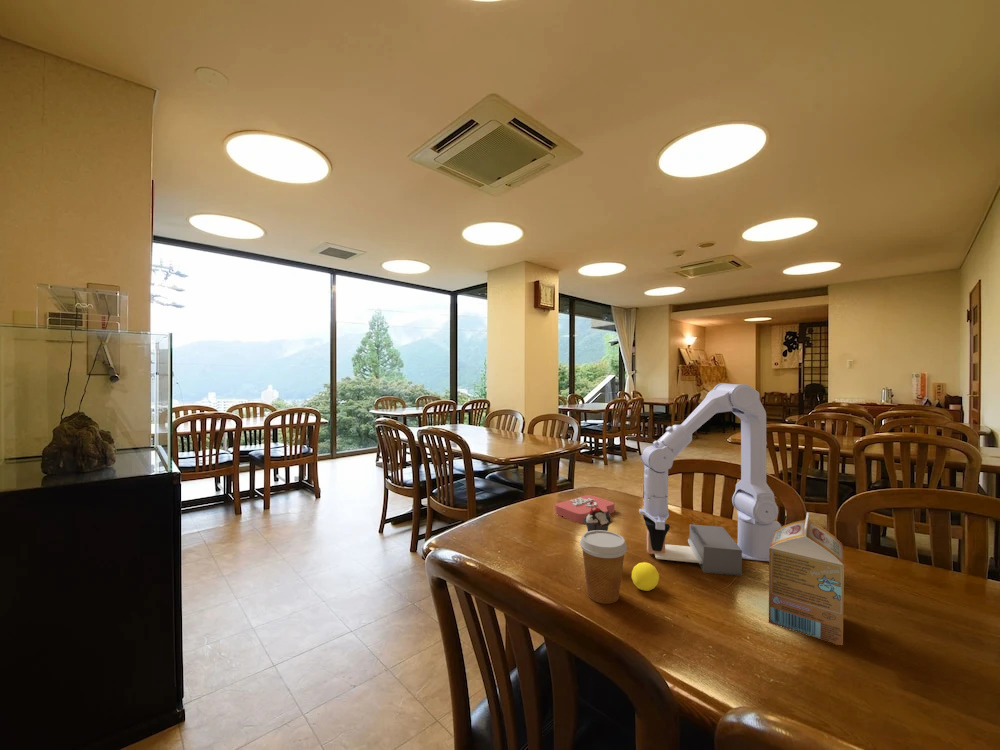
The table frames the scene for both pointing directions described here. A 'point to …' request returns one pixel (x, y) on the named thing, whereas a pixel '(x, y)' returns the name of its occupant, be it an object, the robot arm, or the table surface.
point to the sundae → (597, 520)
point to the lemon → (645, 576)
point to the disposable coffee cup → (603, 564)
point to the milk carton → (807, 581)
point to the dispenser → (715, 550)
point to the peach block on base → (672, 552)
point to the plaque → (582, 507)
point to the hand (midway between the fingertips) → (655, 547)
